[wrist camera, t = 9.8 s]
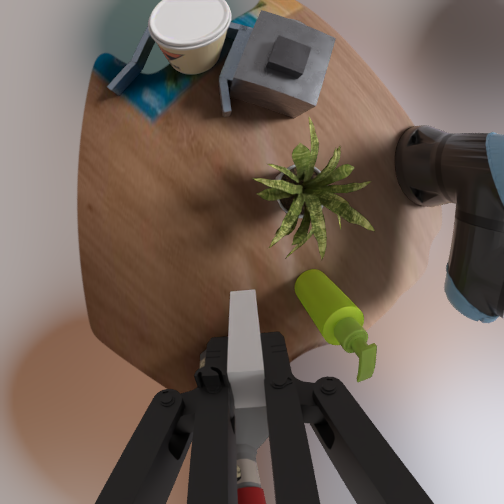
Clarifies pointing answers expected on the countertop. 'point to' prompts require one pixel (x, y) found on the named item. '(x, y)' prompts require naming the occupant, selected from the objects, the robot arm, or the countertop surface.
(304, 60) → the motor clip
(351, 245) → the countertop surface
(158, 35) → the coffee cup
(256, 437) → the liquor
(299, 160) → the house plant
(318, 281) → the soap dispenser
